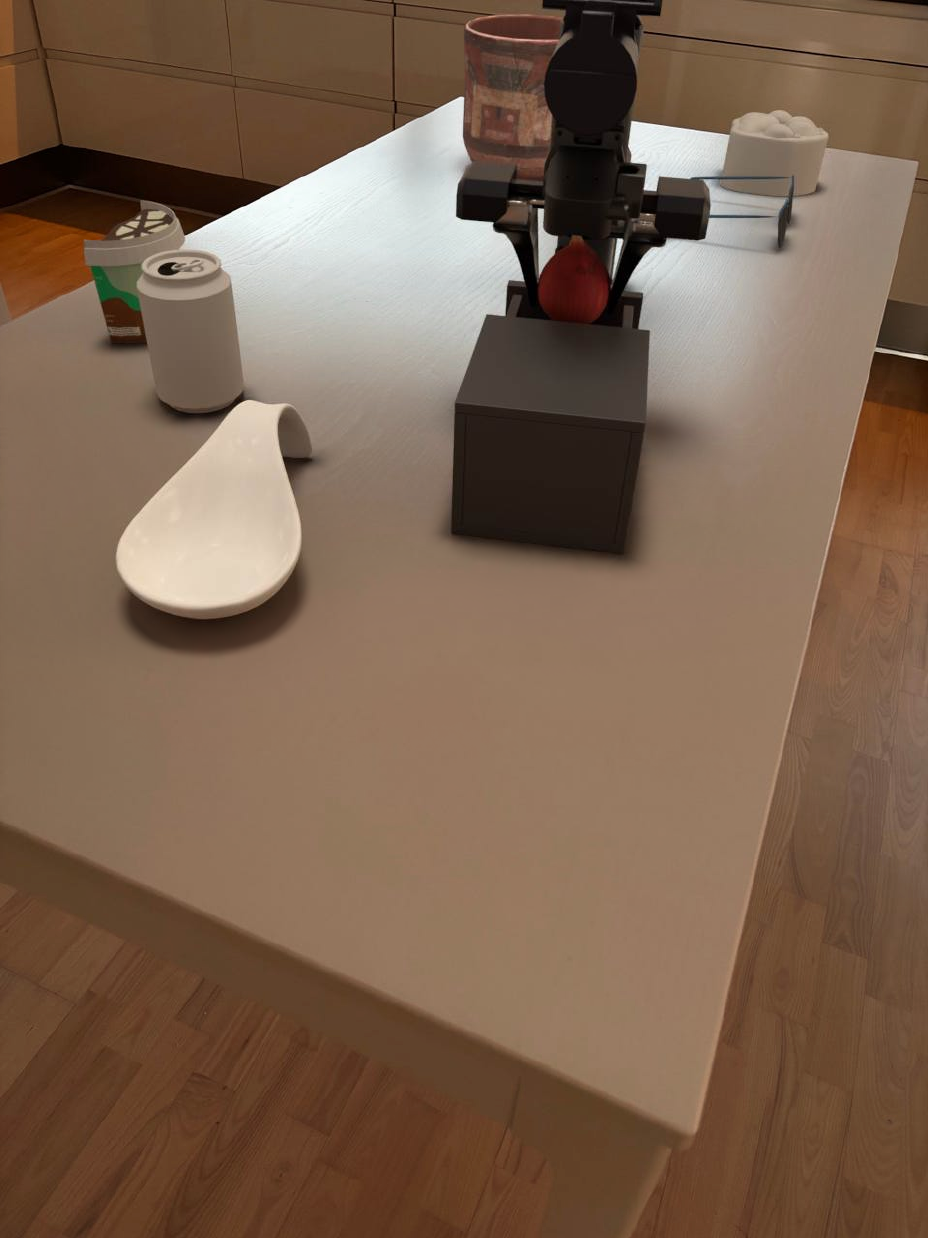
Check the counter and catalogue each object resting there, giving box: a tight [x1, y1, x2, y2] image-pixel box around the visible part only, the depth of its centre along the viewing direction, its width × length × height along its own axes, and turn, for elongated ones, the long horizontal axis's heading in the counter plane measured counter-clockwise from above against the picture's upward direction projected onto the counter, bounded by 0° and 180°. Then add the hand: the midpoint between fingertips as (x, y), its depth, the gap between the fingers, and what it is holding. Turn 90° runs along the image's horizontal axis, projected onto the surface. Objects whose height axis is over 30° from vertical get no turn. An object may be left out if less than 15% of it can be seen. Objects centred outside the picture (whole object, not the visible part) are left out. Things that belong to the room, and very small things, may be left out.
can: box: [137, 248, 245, 414], centre depth 83 cm, size 8×8×12 cm
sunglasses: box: [689, 175, 794, 249], centre depth 125 cm, size 17×15×5 cm
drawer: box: [504, 279, 644, 329], centre depth 83 cm, size 18×11×9 cm, turn 171°
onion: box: [538, 235, 611, 324], centre depth 79 cm, size 6×6×8 cm
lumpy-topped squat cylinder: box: [719, 109, 829, 197], centre depth 137 cm, size 10×13×9 cm
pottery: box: [462, 14, 563, 181], centre depth 134 cm, size 18×18×18 cm
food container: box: [83, 199, 186, 344], centre depth 94 cm, size 12×6×10 cm, turn 168°
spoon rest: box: [115, 399, 313, 620], centre depth 69 cm, size 24×12×7 cm, turn 174°
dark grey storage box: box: [450, 314, 651, 555], centre depth 74 cm, size 15×13×11 cm
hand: (571, 308), depth 81 cm, fingers closed on onion, 6 cm apart
